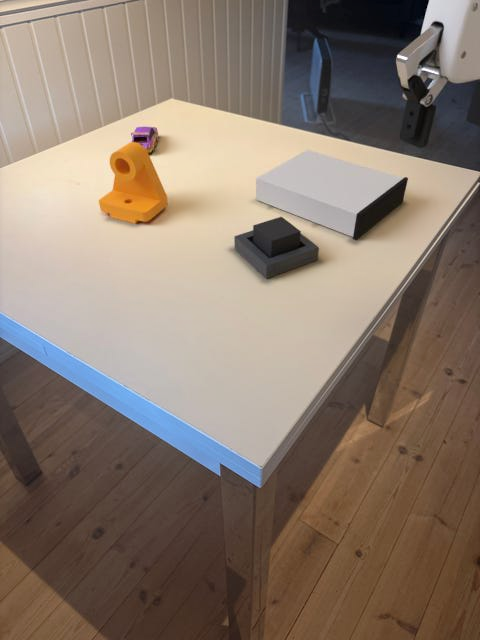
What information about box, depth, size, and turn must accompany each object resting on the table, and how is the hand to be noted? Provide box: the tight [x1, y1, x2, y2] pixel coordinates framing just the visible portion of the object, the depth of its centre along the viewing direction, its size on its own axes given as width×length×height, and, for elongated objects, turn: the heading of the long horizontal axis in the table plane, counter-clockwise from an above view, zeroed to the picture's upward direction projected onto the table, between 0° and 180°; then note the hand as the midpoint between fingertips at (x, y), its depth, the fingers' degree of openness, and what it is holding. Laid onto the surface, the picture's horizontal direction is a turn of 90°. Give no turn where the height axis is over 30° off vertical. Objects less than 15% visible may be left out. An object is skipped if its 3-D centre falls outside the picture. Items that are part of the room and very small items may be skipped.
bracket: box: [98, 141, 169, 224], centre depth 88 cm, size 11×7×12 cm, turn 65°
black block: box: [252, 216, 302, 259], centre depth 79 cm, size 6×6×4 cm
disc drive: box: [255, 149, 409, 241], centre depth 93 cm, size 18×22×5 cm
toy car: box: [130, 126, 159, 154], centre depth 115 cm, size 6×12×5 cm, turn 179°
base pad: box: [233, 229, 320, 280], centre depth 80 cm, size 10×10×2 cm
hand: (446, 133), depth 50 cm, fingers open, 9 cm apart
